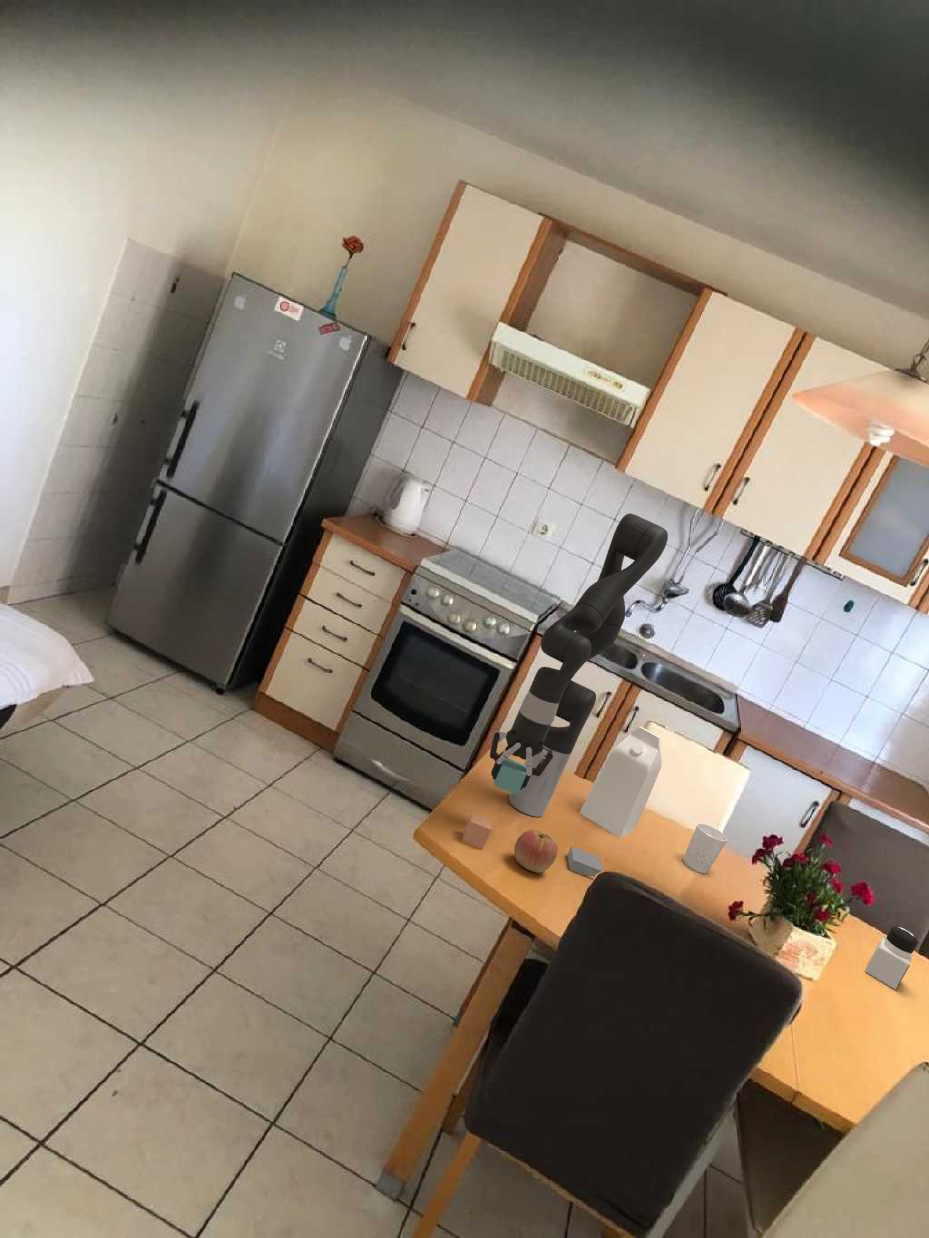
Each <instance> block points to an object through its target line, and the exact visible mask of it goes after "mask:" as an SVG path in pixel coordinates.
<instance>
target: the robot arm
mask: <svg viewBox="0 0 929 1238" xmlns="http://www.w3.org/2000/svg"><path fill="white" fill-rule="evenodd" d="M668 537H669V533H668V530H667V529H665V528H664V527H663V526H660V525H658V524H656V523H654V522H652V521H650V520H648V519H646V518H643V517H641V516H639V515H636V514H633V513H631V512H630V513H626V514H625V515H623V516H622V518H621V519H620V521H619V523H618V524H617V525H616V528H615V530H614V533H613V536H612V537H611V541H610V543H609V547H608V550H607V553H606V556H605V559H604V562H603V565H602V568H601V571H600V573H599V577H598V579H597V581H595V582H594V583H592V584H591V585H589V587H588V588H587V589H586V590H585V591H584V592H583V593H582V595H581V597H580V598H579V599H578V601H577V602H576V604H575V605H574V606H573V607H572V608H571V609H570V610H569V611H568V612H567V613H565V614H564V615H563V616H562V617H560V618H559V619H558V620H556V621H555V622H554V623H552V624H551V625H550V626H548V628H547V629H546V630H545V631H544V632H543V633H542V636H541V639H540V649H541V651H542V653H544V654H545V655H547V656H548V657H550V658H553V659H554V660H557V662H560V663H562V664H561V666H560V668H559V669H557V668H554V667H551V666H550V667H549V666H541V667H539V668H538V669H537V672H536V673H535V676H534V677H533V680H532V683H531V685H530V687H529V689H528V692H527V693H526V695H525V696H524V698H523V701H522V702H521V705H520V707H519V710H518V712H517V714H516V717H515V719H514V722H513V723H512V726H511V728H510V729H509V730H508V731H507V732H503V731H500V730H499V729H495V730H494V732H493V737H492V742H491V746H490V751H489V757H490V759H491V760H493V761H494V764H493V766H492V769H491V772H490V774H491V775H490V776H491V777H492V778H491V779H492V780H493V781H494V780H495V779H496V777H497V775H498V772H499V770H500V768H501V763H502V762H503V761H504V760H506V759H507V758H509V759H510V757H511V756H514V757H518V758H520V759H522V760H523V761H524V763H523V764H524V765H526V777H525V779H524V781H523V784H522V786H521V788H520V790H519V793H518V795H516V794H514V793H511V792H510V795H509V797H508V801H509V803H510V805H511V806H512V807H514V808H515V809H517V810H518V811H520V812H521V813H523V814H526V815H529V816H532V817H537V818H539V817H543V816H544V814H545V812H546V809H547V808H548V807H549V806H548V805H549V804H550V801H551V799H552V798H553V794H554V792H555V790H556V788H557V785H558V784H559V782H560V779H561V777H562V775H563V772H564V771H565V768H566V766H567V764H568V761H569V760H570V757H571V755H572V752H573V751H574V748H575V745H576V743H577V741H578V738H579V736H580V734H581V732H582V731H583V729H584V726H585V725H586V723H587V720H588V719H589V717H590V715H591V713H592V711H593V709H594V707H595V704H596V702H597V694H596V692H595V690H592V689H590V688H589V687H586V686H584V685H582V684H580V683H578V682H576V681H574V680H572V679H573V678H574V677H575V675H576V674H577V673H578V671H579V670H580V669H581V668H582V667H583V665H584V664H585V663H587V662H589V661H590V660H592V659H593V658H595V657H596V656H599V655H600V654H601V653H603V652H605V651H606V650H607V649H609V648H610V647H611V646H612V645H614V643H615V642H616V640H617V638H618V635H619V633H620V631H621V628H622V626H623V624H624V621H625V617H626V602H625V597H624V596H625V595H626V594H627V593H628V592H629V591H630V590H631V589H632V588H633V587H634V586H635V585H636V584H637V583H638V582H639V581H640V580H641V578H643V577H644V576H645V574H646V573H647V572H648V571H650V569H651V568H652V567H653V566H654V565H655V564H656V562H658V560H659V559H660V557H661V556H662V554H663V552H664V550H665V548H666V546H667V543H668ZM625 557H626V558H628V559H631V560H633V562H632V563H630V564H629V565H627V566H626V567H625V568H623V564H624V563H623V562H624V559H625ZM622 568H623V569H622ZM555 717H558V718H559V719H562V720H563V721H565V722H568V723H569V725H567V726H566V725H565V726H552V724H553V722H554V720H555ZM504 739H505V740H506V744H507V746H506V747H504V748H503V750H502V751H501V752H500V753H498V752H497V751H498V745H499V743H501V742H503V740H504Z"/></svg>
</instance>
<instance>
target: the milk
mask: <svg viewBox="0 0 929 1238" xmlns="http://www.w3.org/2000/svg"><path fill="white" fill-rule="evenodd" d="M662 764H663V761H662V753H661V736H659V735H657V734H655V733H653V732H651V730H648V729H646V728H644V727H643V726H638V727H636V728H635V729H634V730H633V731H632V732H630V734H628V735H627V736H626V737H625V738H624V739H623V740H622V741H621V742H620V743H618V744H617V745H616V746H615V747H614V748H613V750H612V751H611V753H610V754H609V756H608V758H607V760H606V762H605V763H604V765H603V768H602V769H601V771H600V773H599V775H598V777H597V779H596V781H595V783H594V784H593V786H592V789H591V790H590V791H589V794H588V796H587V797H586V800H585V801H584V803H583V805H582V807H581V809H580V811H579V812H578V813H579V814H580V815H582V816H583V817H584V818H587V819H589V820H590V821H591V822H594V824H596V825H598V826H600V828H603V829H605V830H606V831H607V832H609V833H611V834H612V835H614V836H615V837H617V838H619V839H620V838H623V837H624V836H627V835H628V834H629V833H631V832H633V831H635V830H636V828H637V827H638V825H639V823H640V820H641V817H642V814H643V812H644V810H645V807H646V804H647V803H648V801H649V797H650V796H651V793H652V791H653V789H654V785H655V784H656V781H657V779H658V777H659V774H660V771H661V769H662V766H663V765H662Z"/></svg>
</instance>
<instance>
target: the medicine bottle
mask: <svg viewBox="0 0 929 1238" xmlns="http://www.w3.org/2000/svg"><path fill="white" fill-rule="evenodd" d="M877 944H878V945H877V946H876V947H875V950H874V952H873V954H872V955H871V957H870V959H869V960H868V962H867V966H866V968H865V973H866V974H868V975H870V976H871V977H873V978H874V979H875V980H878V981H879V982H881V983H883V984H884V985H885V986H888V987H890V988H891V989H893V990H895V991H896V990H897V989H898V987H899V986H900V984H901V982H902V980H903V979H904V976H905V974H907V971H908V969H909V967H911V966H910V965H911V962H912V958H913V955H912V954H913V953H914V951H915V949H916V947H917V945H918V944H919V941H918V939H917V937H915V935H914V934H913V933H912V932H911V931H909V930H907V929H905V928H903V927H901V926H900V927H898V926H891V928H890V930H889V931H888V934H887V935H886V937H885V938H884V937H882V938H881V939H880V941H879V943H877Z"/></svg>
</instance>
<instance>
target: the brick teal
mask: <svg viewBox="0 0 929 1238" xmlns="http://www.w3.org/2000/svg"><path fill="white" fill-rule="evenodd" d="M525 777H526V765H524V763H521V762H520V761H516V760H513V759H511V758H510V757H509V758H507V759H506V760H504V761H503V762H502V763H501V768H500V770H499V772H498V775H497V777H496V779H495V780H494V779H493V786H494V787H495V788H498V789H501V790H504V791H506V792H509V793H510V794H511V793H514V794H516V795H518V793H519V790H520V788H521V786H522V784H523V781H524V779H525Z"/></svg>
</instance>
